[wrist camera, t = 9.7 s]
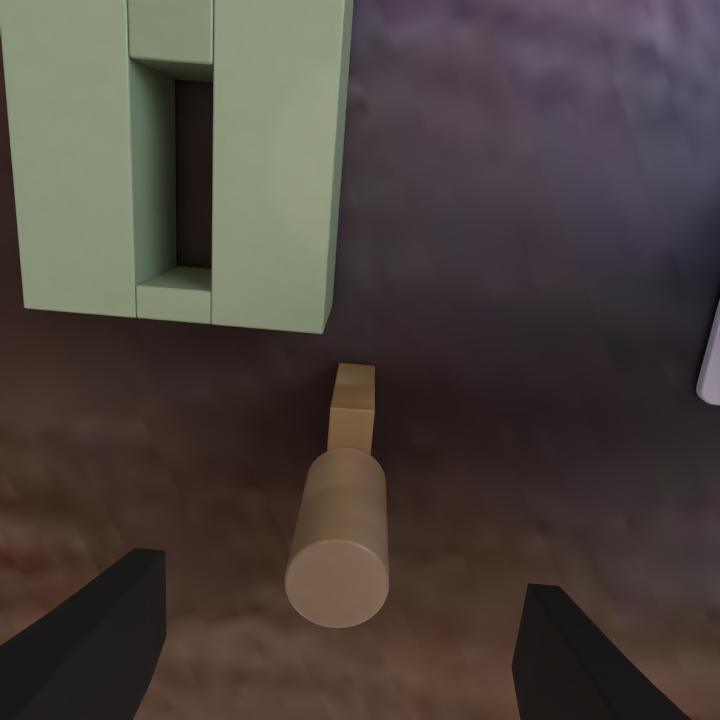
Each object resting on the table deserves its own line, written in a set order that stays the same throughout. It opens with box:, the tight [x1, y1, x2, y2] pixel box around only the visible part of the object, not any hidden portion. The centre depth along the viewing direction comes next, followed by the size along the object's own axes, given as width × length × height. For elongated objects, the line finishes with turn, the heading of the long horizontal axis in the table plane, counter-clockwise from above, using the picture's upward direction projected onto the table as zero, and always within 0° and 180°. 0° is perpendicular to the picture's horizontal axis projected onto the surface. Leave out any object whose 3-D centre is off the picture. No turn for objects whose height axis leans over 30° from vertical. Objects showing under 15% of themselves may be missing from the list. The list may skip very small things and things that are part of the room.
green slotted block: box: [0, 0, 354, 334], centre depth 16 cm, size 8×14×4 cm, turn 175°
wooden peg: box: [284, 363, 389, 628], centre depth 17 cm, size 2×4×8 cm, turn 175°
